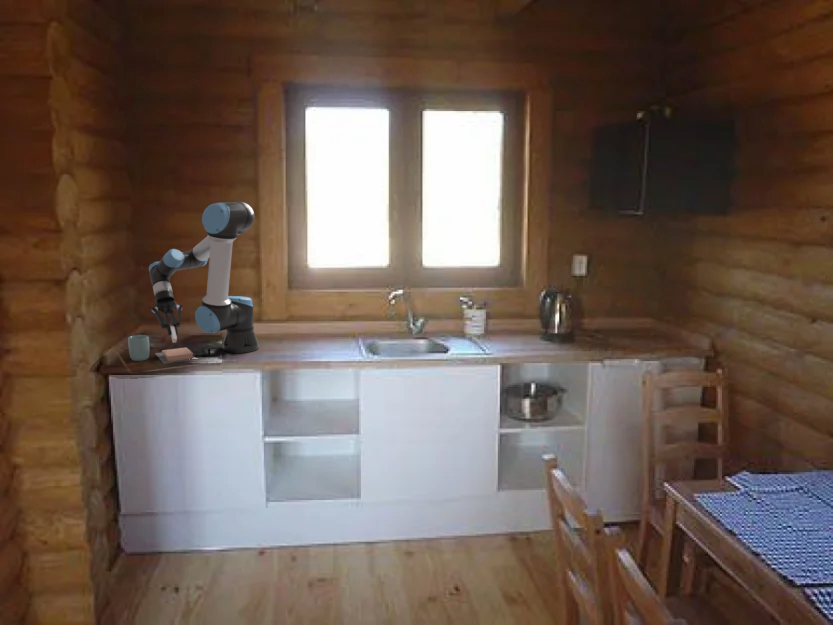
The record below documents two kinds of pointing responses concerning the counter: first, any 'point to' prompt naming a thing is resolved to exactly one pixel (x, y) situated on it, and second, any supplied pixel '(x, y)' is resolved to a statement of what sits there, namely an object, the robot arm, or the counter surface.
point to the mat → (166, 360)
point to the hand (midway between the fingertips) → (174, 340)
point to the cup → (138, 347)
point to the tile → (177, 354)
